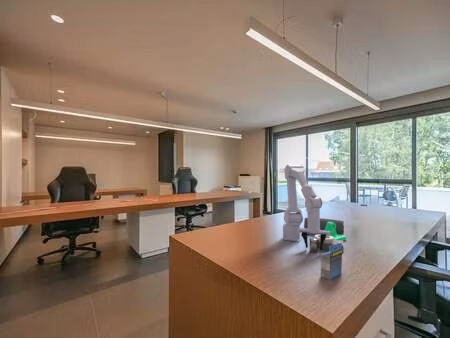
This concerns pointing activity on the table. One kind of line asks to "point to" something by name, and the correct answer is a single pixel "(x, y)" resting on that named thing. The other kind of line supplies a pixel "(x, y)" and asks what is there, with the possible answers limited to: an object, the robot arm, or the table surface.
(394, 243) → the table surface
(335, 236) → the camera mount
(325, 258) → the label tape box
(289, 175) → the robot arm
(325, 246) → the camera body
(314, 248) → the lens
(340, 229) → the bluetooth speaker
